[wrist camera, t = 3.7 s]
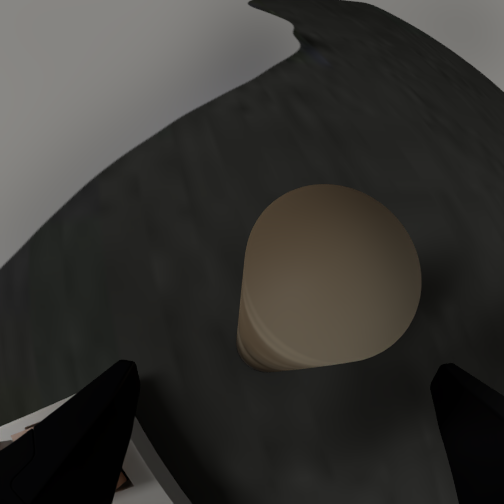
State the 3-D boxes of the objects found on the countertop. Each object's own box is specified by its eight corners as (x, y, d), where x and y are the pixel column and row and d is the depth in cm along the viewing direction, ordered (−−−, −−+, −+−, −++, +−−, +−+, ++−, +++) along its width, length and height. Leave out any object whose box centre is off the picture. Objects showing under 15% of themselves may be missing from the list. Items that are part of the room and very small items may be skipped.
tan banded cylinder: (307, 352, 17) (448, 294, 5) (256, 383, 17) (314, 402, 5) (276, 302, 18) (353, 162, 6) (225, 331, 18) (209, 230, 6)
